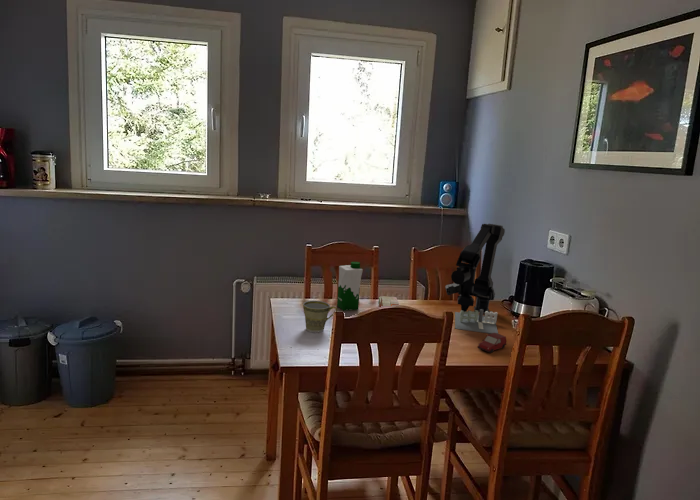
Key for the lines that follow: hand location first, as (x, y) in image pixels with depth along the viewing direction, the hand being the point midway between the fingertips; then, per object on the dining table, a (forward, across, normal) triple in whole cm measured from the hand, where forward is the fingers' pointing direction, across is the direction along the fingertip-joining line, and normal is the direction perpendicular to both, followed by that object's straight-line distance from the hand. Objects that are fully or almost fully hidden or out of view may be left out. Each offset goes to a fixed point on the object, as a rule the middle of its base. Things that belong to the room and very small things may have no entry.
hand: (462, 314), depth 222 cm
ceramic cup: (+1, +34, -54) cm, 64 cm away
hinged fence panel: (+2, +1, +3) cm, 3 cm away
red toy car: (+2, +28, +10) cm, 30 cm away
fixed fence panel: (+3, -1, +10) cm, 11 cm away
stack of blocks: (+2, +21, -30) cm, 37 cm away
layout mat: (+3, +1, +6) cm, 6 cm away
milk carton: (+3, +4, -49) cm, 49 cm away
